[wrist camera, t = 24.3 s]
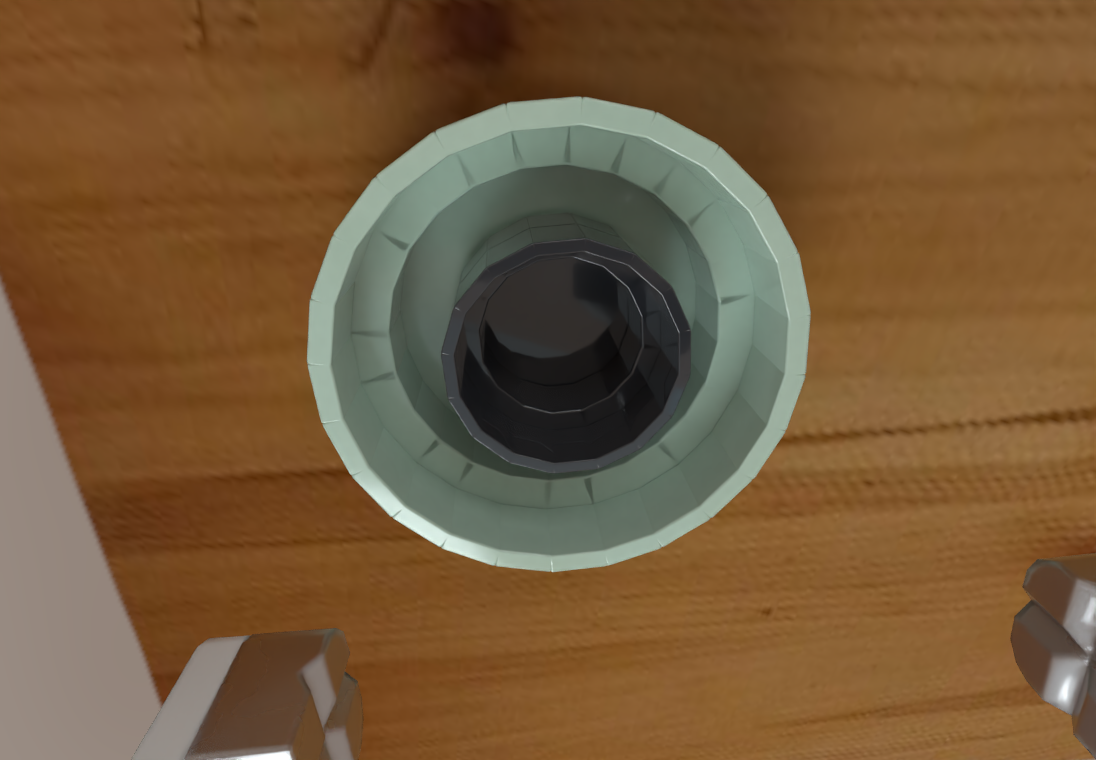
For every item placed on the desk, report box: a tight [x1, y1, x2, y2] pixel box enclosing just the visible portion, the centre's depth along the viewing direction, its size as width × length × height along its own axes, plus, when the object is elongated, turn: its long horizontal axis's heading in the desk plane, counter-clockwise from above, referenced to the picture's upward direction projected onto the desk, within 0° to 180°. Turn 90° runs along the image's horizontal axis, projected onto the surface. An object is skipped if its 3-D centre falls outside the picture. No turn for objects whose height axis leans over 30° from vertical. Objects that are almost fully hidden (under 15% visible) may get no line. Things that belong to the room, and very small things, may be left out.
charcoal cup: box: [441, 212, 691, 474], centre depth 19 cm, size 6×6×5 cm
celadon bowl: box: [307, 96, 811, 572], centre depth 19 cm, size 13×13×6 cm
